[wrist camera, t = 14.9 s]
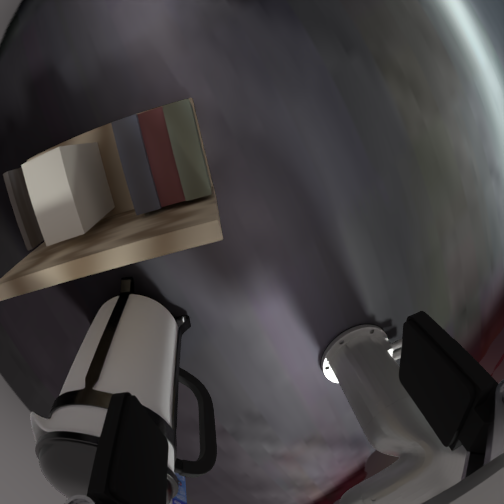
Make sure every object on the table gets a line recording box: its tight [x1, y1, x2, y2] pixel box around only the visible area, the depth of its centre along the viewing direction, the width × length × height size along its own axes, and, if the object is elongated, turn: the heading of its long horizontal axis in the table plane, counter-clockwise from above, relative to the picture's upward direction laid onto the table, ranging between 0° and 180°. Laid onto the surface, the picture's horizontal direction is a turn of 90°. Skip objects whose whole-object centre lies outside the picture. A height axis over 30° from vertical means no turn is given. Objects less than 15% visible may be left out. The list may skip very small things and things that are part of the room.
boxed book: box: [21, 142, 115, 246], centre depth 27 cm, size 4×8×10 cm, turn 11°
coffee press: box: [30, 277, 217, 504], centre depth 27 cm, size 17×16×30 cm
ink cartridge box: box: [169, 472, 187, 504], centre depth 49 cm, size 10×6×14 cm, turn 121°
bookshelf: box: [0, 98, 223, 301], centre depth 26 cm, size 22×12×16 cm, turn 102°
